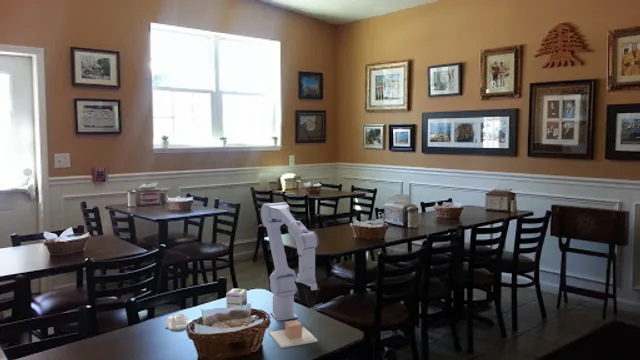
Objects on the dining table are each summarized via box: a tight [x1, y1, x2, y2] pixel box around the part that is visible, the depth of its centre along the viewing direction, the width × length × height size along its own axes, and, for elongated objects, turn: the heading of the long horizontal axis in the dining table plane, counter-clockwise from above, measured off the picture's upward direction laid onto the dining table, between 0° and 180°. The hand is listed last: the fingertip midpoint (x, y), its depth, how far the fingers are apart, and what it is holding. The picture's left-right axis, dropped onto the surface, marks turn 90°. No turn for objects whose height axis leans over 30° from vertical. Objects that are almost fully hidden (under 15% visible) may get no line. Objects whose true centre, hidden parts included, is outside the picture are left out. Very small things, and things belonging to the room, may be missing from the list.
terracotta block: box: [284, 319, 303, 339], centre depth 176 cm, size 4×4×4 cm
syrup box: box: [225, 288, 248, 309], centre depth 181 cm, size 6×6×14 cm
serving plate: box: [268, 325, 319, 349], centre depth 176 cm, size 13×13×1 cm
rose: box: [165, 313, 193, 331], centre depth 186 cm, size 10×4×10 cm
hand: (306, 303), depth 180 cm, fingers open, 7 cm apart
